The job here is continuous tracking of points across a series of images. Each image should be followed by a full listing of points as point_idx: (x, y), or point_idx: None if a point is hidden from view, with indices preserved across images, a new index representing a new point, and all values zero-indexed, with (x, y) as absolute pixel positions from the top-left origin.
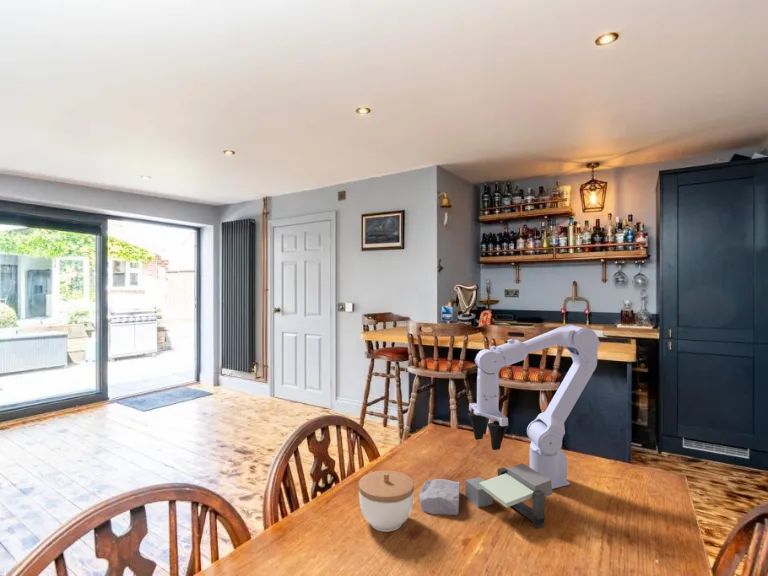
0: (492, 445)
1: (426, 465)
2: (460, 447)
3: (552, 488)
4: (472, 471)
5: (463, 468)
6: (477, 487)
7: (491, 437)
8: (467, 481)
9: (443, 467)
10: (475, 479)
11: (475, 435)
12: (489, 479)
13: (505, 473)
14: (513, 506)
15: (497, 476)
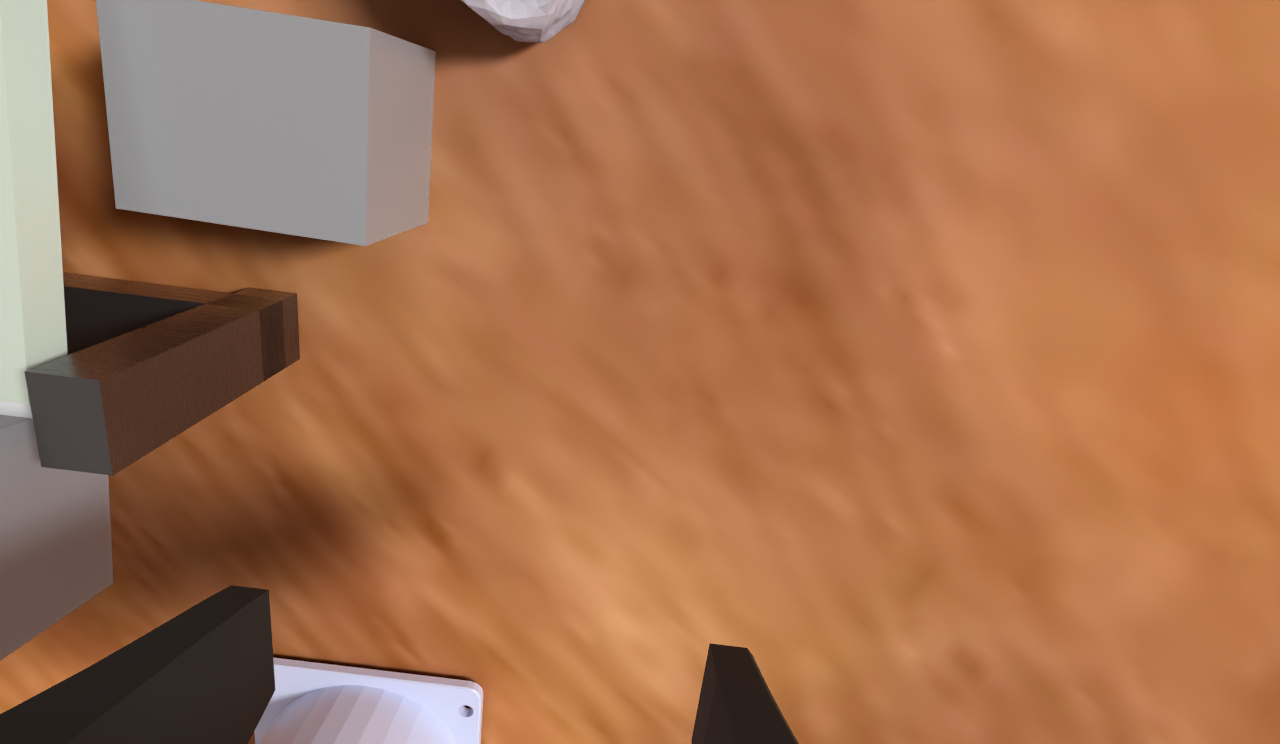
0: (183, 622)
1: (1195, 123)
2: (1230, 679)
3: (258, 729)
4: (792, 448)
5: (887, 418)
6: (154, 26)
7: (57, 730)
8: (330, 22)
9: (1031, 262)
10: (335, 149)
11: (724, 689)
12: (2, 142)
13: (28, 402)
14: (63, 275)
15: (16, 276)
